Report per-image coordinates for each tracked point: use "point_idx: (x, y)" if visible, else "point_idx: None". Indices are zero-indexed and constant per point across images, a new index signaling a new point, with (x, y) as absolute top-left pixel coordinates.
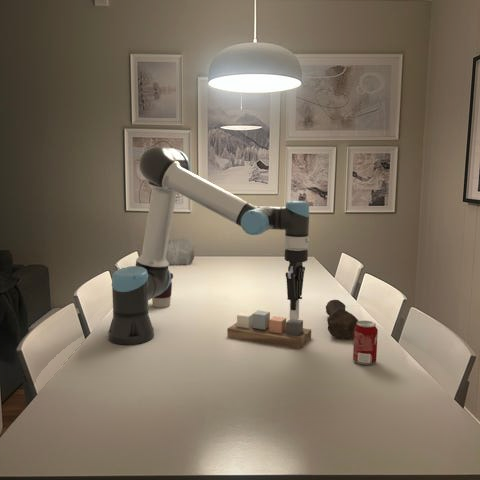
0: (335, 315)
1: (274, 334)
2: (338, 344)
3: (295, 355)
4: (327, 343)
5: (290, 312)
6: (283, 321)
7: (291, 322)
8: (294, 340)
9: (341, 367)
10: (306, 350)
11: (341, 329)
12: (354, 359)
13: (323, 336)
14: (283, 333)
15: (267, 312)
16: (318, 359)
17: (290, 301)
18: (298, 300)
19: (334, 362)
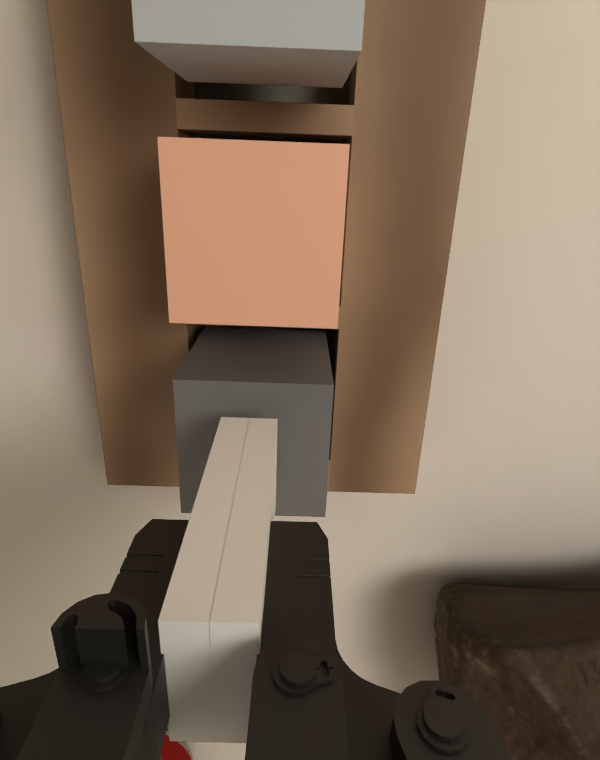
0: (546, 731)
1: (121, 239)
2: (340, 618)
3: (6, 450)
4: (330, 565)
5: (209, 471)
6: (241, 319)
7: (195, 433)
8: (105, 437)
9: (4, 684)
10: (136, 487)
11: None
12: None
13: (463, 517)
14: None
15: (320, 15)
16: (34, 577)
17: (169, 596)
18: (209, 736)
19: (46, 649)
